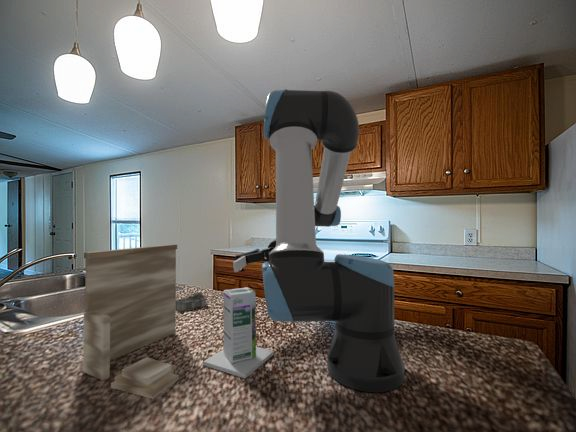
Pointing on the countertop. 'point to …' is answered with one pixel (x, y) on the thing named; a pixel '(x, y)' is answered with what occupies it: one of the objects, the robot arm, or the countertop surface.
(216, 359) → the mat
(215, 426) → the countertop surface
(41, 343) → the countertop surface
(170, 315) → the wood grain panel
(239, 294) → the syrup box
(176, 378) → the offcut stack
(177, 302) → the egg carton
